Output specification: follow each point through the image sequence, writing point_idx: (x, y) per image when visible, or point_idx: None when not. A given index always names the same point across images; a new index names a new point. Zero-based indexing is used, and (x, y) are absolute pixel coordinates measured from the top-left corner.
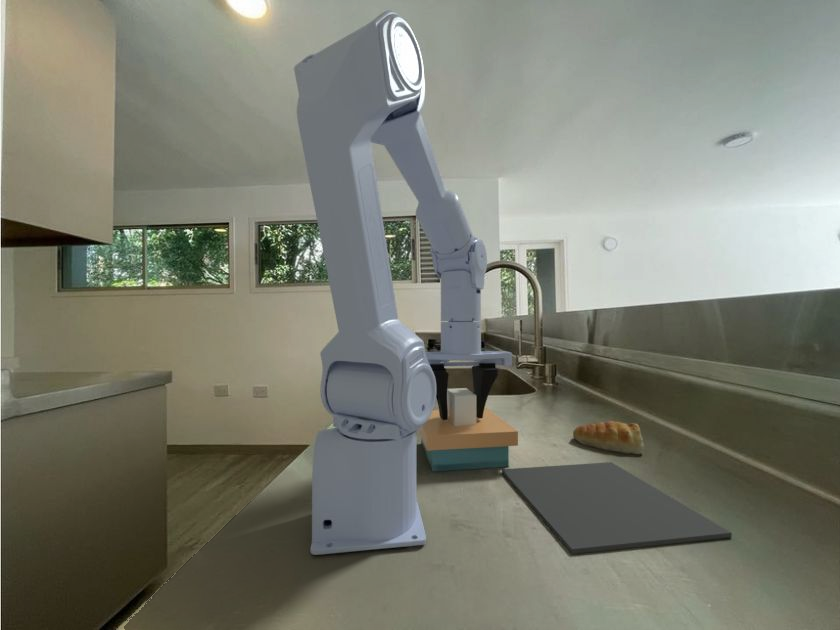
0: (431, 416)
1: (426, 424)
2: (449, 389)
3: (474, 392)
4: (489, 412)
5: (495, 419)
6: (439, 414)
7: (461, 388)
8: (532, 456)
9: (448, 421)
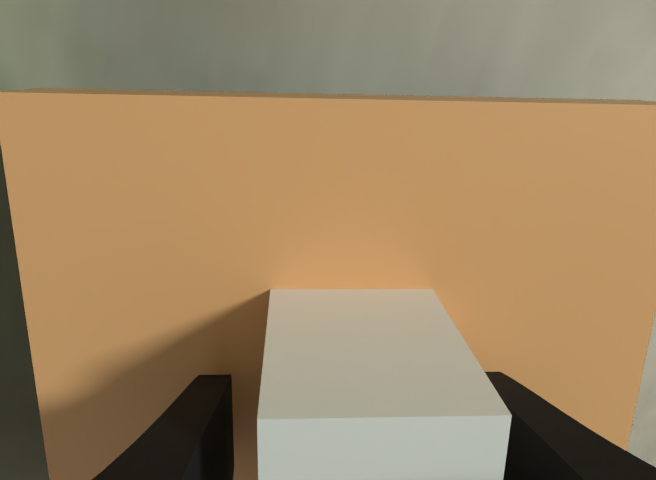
0: (140, 294)
1: (84, 469)
2: (280, 466)
3: (555, 477)
4: (643, 247)
5: (588, 423)
6: (216, 246)
7: (447, 424)
8: (651, 373)
9: (250, 425)
